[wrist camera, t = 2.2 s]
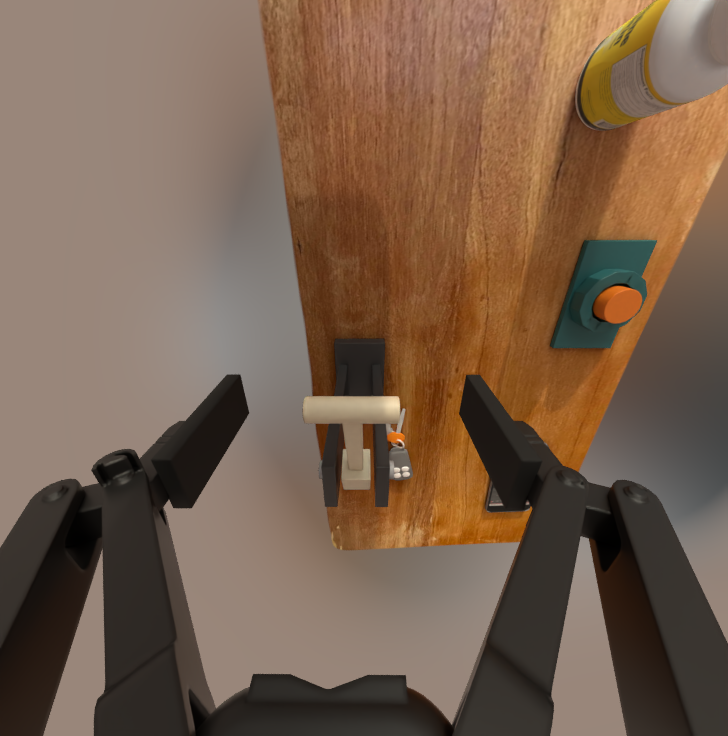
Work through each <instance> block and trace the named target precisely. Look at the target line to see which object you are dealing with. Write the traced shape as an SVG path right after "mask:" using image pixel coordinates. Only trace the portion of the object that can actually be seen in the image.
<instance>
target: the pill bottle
mask: <svg viewBox="0 0 728 736" xmlns="http://www.w3.org/2000/svg"><path fill="white" fill-rule="evenodd" d="M727 84H728V0H656V1H654V2H653V3H652V4H650V5H649V6H648V7H646V8H645V9H644V10H642V11H641V12H640V13H638V14H637V15H636V16H634V17H633V18H632V19H630V20H629V21H628V22H626V23H625V24H624V25H622V26H621V27H620V28H618V29H617V30H616V31H614V32H613V33H612V34H610V35H609V36H608V37H607V38H606V39H604V40H603V41H602V42H601V43H600V44H599V45H598V47H597V48H596V49H595V50H594V51H593V53H592V54H591V55H590V57H589V58H588V60H587V62H586V63H585V65H584V67H583V69H582V72H581V74H580V77H579V80H578V83H577V88H576V95H575V103H576V109H577V113H578V116H579V117H580V119H581V121H582V122H583V123H584V124H585V125H586V126H587V127H589V128H591V129H594V130H599V131H606V130H611V129H615V128H618V127H621V126H623V125H626V124H629V123H632V122H634V121H637V120H640V119H643V118H646V117H649V116H651V115H654V114H657V113H660V112H663V111H666V110H669V109H672V108H675V107H677V106H680V105H683V104H686V103H689V102H692V101H695V100H698V99H700V98H703V97H705V96H708V95H710V94H712V93H714V92H715V91H717V90H719V89H721V88H722V87H724V86H725V85H727Z"/></svg>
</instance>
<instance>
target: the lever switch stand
mask: <svg viewBox="0 0 728 736" xmlns="http://www.w3.org/2000/svg"><path fill="white" fill-rule="evenodd" d="M334 347H335V365H336V387H335V393H334V396H383V386H384V357H385V340H384V339H335V343H334ZM343 446H344V432H343V425H342V424H329V426H328V432H327V437H326V443H325V449H324V454H323V460H322V461H320V463H319V478H320V479H322V480H323V490H324V500H325V507H337V506H338V497H339V487H340V477H341V466H342V456H343ZM373 449H374V480H375V506H376V507H388V496H389V479H394V462H393V461H389V451H388V441H387V430H386V424H373Z"/></svg>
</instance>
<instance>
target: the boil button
mask: <svg viewBox="0 0 728 736" xmlns="http://www.w3.org/2000/svg"><path fill="white" fill-rule="evenodd" d="M641 304H642V296H641V294H640V293H639V292H638V291H637V290H634V289H631V288H627V287H623V286H612V287H609V288H607V289H605V290H604V291H602V292H601V293H600V294H599V295H598V296H597V298H596V299H595V301H594V304H593V312H594V314H595V316H597V317H598V318H600V319H603V320H605V321H607V322H610V323H614V324H617V323H622V322H625V321H627V320H629V319H630V318H632V317H633V316H634V315H635V314H636V313H637V312H638V310H639V309H640V307H641Z"/></svg>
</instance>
